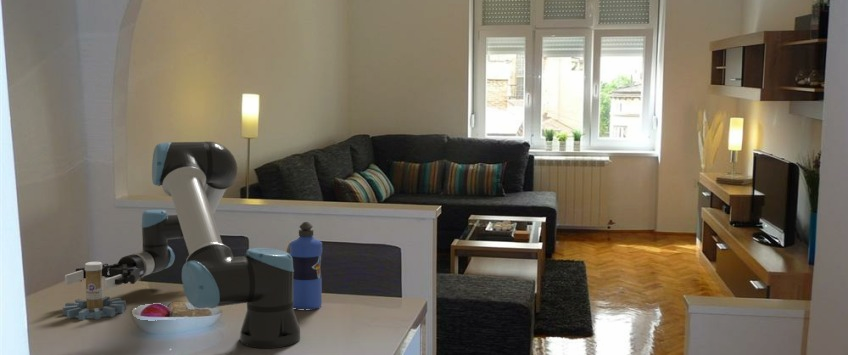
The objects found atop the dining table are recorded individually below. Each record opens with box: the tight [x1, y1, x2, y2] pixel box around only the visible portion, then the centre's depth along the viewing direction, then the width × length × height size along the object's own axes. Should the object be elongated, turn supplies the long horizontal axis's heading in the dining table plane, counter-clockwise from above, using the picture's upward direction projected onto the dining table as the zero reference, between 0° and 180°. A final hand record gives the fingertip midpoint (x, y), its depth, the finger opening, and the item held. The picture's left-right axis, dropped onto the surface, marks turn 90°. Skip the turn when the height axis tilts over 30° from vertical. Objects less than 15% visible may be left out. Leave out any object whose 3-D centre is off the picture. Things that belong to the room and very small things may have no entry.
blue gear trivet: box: [62, 296, 127, 321], centre depth 227 cm, size 16×16×2 cm
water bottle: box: [289, 221, 323, 310], centre depth 235 cm, size 9×9×25 cm
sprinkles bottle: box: [84, 261, 104, 311], centre depth 226 cm, size 5×5×13 cm
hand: (85, 282), depth 223 cm, fingers open, 13 cm apart
